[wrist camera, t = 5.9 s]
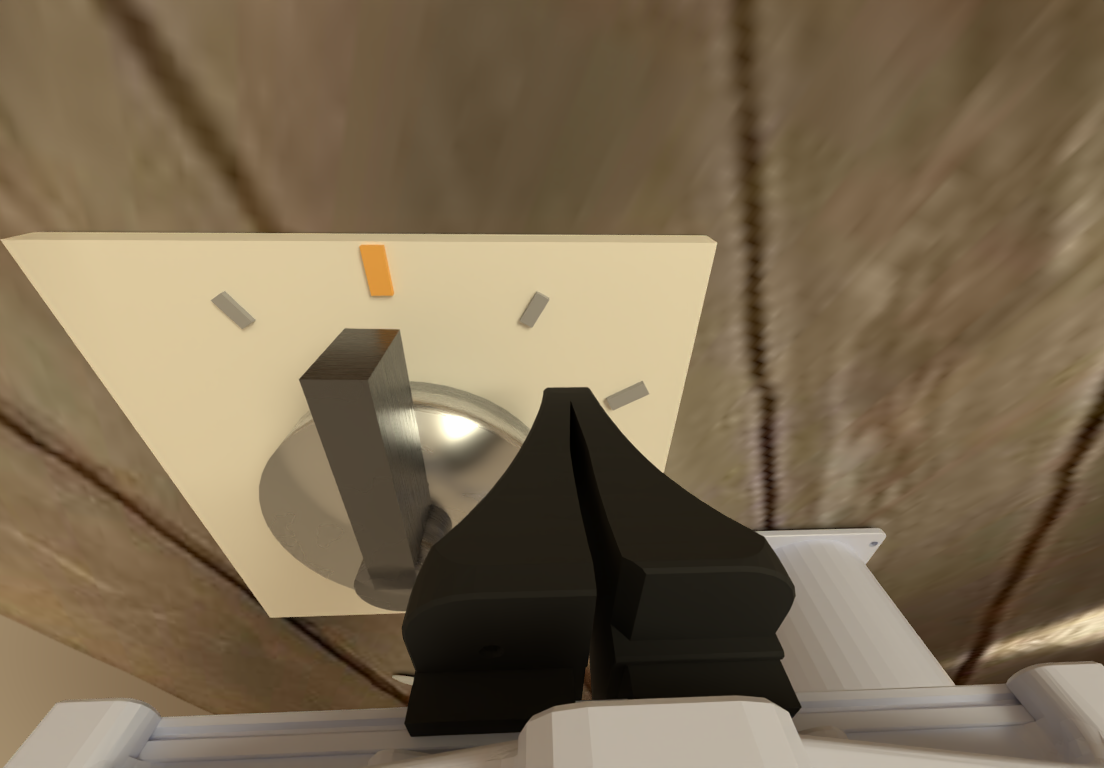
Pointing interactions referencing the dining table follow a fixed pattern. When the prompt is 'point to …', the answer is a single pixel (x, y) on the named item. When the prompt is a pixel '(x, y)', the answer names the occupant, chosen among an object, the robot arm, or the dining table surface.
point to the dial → (380, 467)
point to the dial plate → (362, 303)
